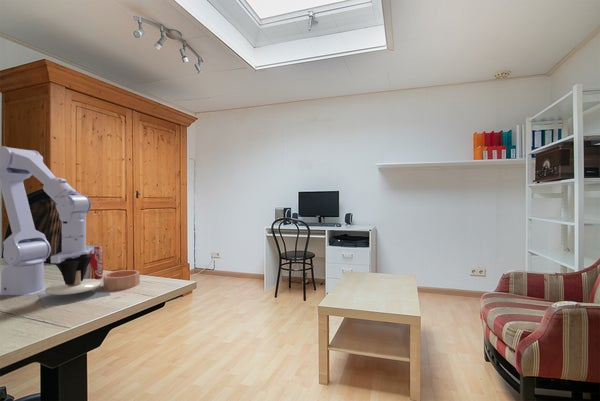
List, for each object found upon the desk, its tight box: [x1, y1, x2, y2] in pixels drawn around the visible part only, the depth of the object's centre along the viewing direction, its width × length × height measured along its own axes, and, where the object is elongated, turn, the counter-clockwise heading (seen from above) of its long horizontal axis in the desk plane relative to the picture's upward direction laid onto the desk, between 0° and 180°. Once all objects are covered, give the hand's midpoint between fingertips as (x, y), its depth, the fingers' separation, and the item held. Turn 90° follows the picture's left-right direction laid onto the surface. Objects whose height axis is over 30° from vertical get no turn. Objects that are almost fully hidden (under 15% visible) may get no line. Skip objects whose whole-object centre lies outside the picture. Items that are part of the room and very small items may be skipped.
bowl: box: [102, 269, 141, 291], centre depth 99 cm, size 10×10×4 cm
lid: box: [45, 270, 102, 295], centre depth 89 cm, size 13×13×5 cm
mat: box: [38, 285, 112, 309], centre depth 89 cm, size 15×15×1 cm
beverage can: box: [84, 244, 104, 280], centre depth 107 cm, size 6×6×12 cm
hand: (74, 282), depth 89 cm, fingers closed on lid, 3 cm apart
